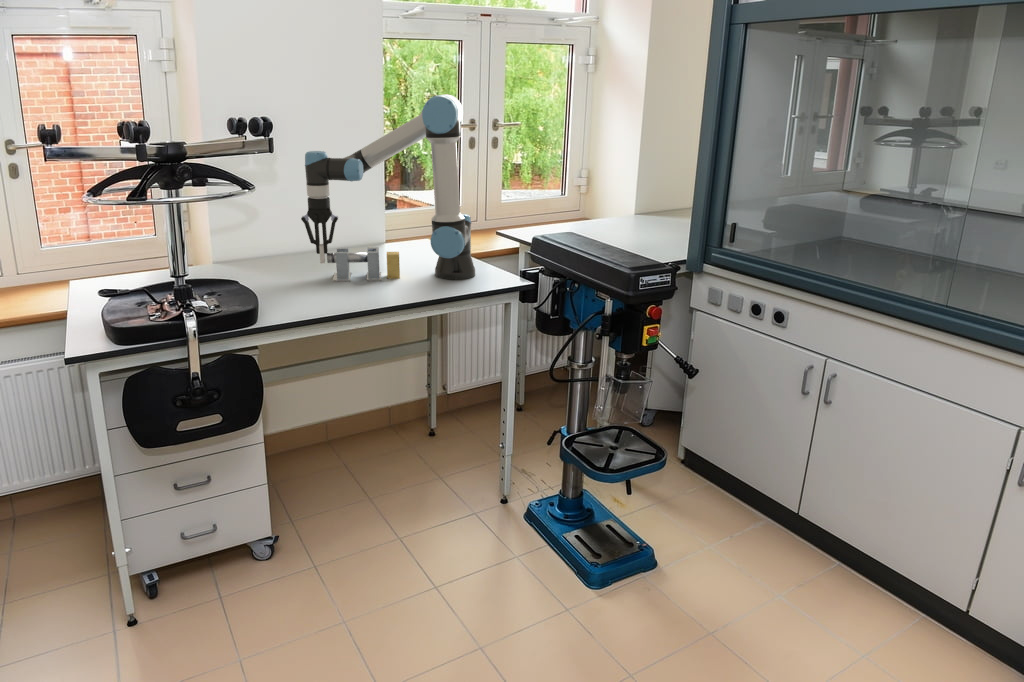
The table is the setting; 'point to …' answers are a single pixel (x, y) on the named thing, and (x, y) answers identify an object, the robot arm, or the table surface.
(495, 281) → the table surface
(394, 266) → the spacer
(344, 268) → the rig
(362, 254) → the shaft
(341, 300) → the table surface
